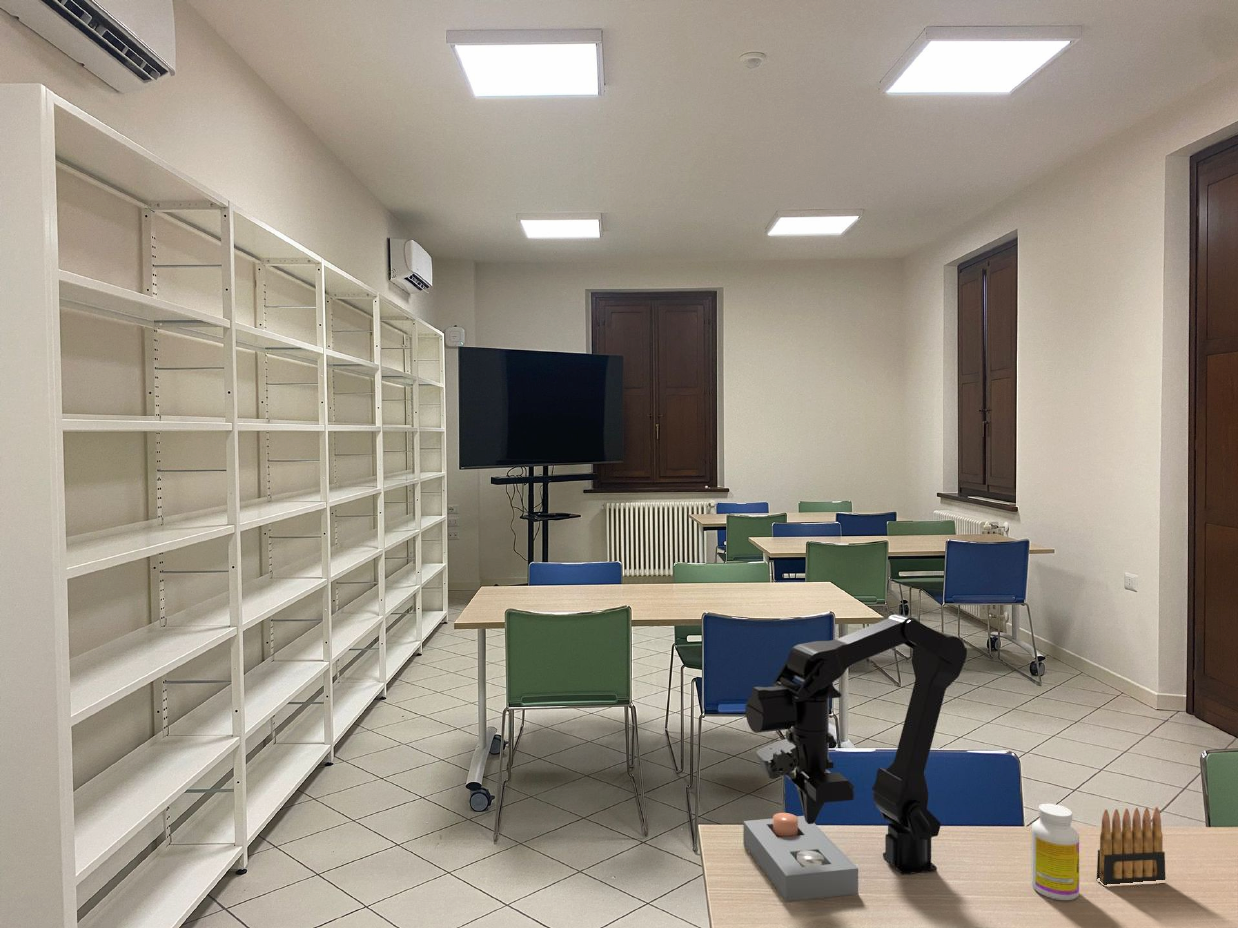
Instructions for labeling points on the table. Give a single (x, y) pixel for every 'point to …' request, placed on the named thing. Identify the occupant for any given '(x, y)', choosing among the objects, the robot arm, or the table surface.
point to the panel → (788, 873)
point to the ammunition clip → (1131, 848)
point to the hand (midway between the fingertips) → (809, 822)
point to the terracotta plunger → (785, 825)
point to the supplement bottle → (1055, 853)
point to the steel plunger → (809, 858)
